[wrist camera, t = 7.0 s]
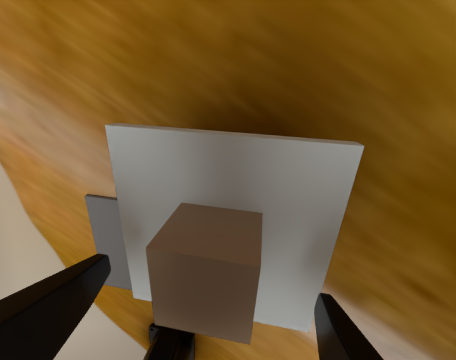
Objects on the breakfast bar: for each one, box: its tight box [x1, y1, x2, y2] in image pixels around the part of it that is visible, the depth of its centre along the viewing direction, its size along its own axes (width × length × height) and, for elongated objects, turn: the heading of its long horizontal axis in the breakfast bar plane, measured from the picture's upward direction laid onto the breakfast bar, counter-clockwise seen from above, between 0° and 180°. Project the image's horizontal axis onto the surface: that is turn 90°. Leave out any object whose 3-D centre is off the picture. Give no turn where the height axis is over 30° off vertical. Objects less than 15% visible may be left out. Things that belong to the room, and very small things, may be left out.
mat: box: [85, 194, 132, 290], centre depth 25 cm, size 13×13×1 cm
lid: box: [105, 123, 364, 345], centre depth 10 cm, size 11×11×4 cm
